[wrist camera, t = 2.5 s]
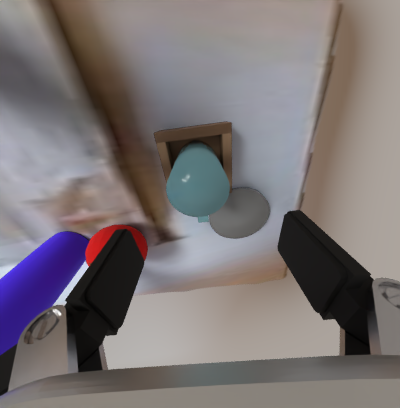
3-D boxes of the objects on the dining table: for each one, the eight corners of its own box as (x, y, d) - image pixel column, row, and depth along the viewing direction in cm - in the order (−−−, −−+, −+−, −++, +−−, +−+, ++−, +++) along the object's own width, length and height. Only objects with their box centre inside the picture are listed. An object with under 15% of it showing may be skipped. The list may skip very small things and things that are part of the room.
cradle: (159, 130, 22) (153, 133, 19) (226, 121, 21) (231, 122, 18) (173, 190, 27) (170, 200, 24) (227, 184, 27) (231, 192, 24)
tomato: (126, 255, 36) (105, 299, 27) (91, 226, 31) (52, 269, 22) (162, 240, 33) (151, 283, 25) (130, 206, 28) (103, 245, 20)
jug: (174, 143, 22) (158, 164, 13) (214, 137, 22) (229, 155, 13) (185, 200, 28) (180, 245, 18) (218, 196, 27) (230, 239, 18)
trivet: (206, 191, 27) (206, 194, 26) (271, 183, 27) (273, 185, 26) (211, 238, 34) (211, 241, 33) (263, 232, 33) (265, 235, 32)
